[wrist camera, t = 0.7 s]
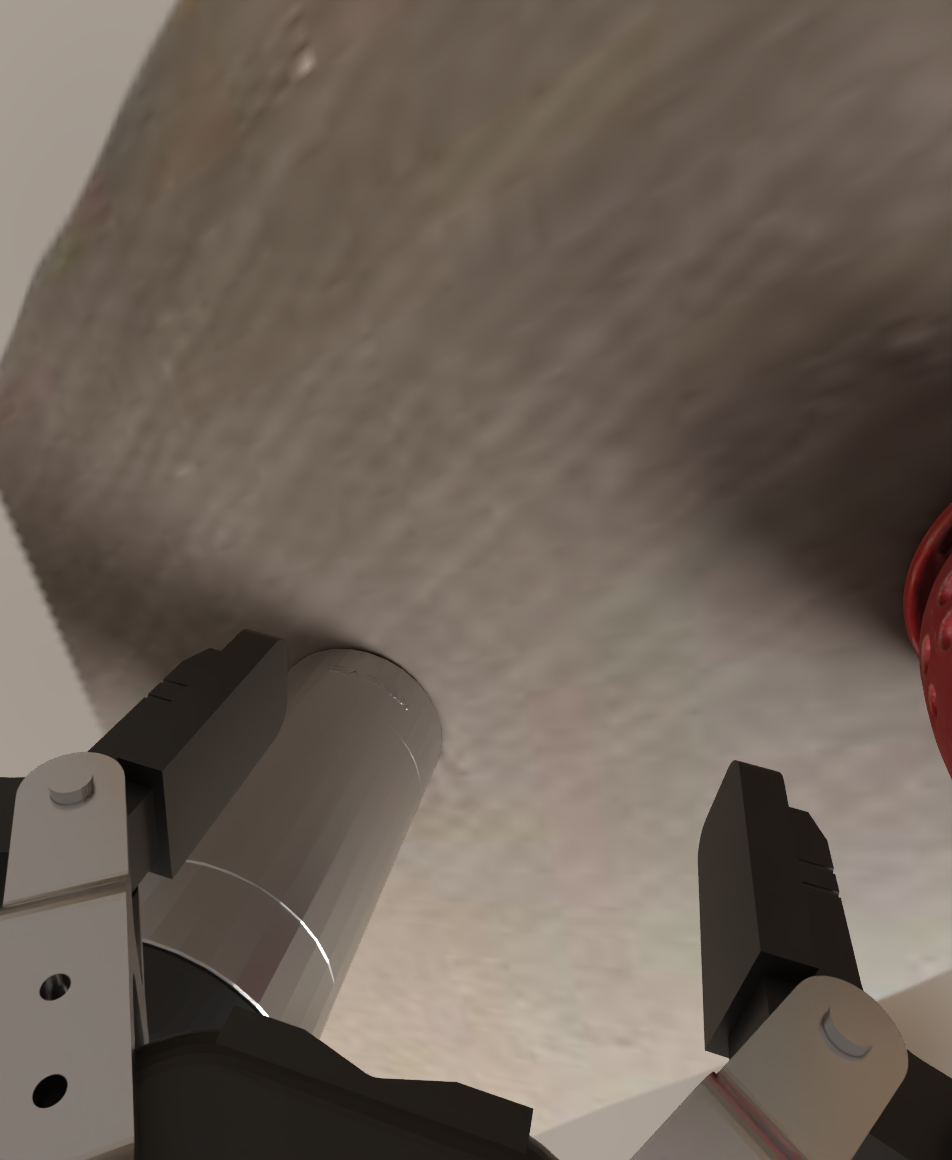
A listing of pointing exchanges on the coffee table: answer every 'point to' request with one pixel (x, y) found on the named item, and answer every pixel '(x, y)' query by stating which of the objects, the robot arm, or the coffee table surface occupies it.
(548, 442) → the coffee table surface
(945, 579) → the plant pot
